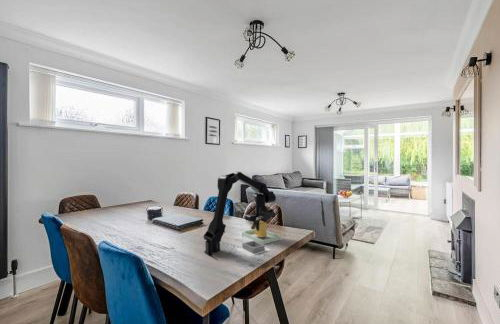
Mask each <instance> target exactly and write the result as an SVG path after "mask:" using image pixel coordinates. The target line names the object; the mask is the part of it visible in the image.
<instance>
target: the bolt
mask: <svg viewBox="0 0 500 324" xmlns="http://www.w3.org/2000/svg"><path fill="white" fill-rule="evenodd" d="M259 220H260V221H261V217H260V218H259ZM252 223H253V222H252ZM250 228H251V229H250V230H252V229H255V225H254V223H253V224H252V225H251V226H250Z"/></svg>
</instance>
